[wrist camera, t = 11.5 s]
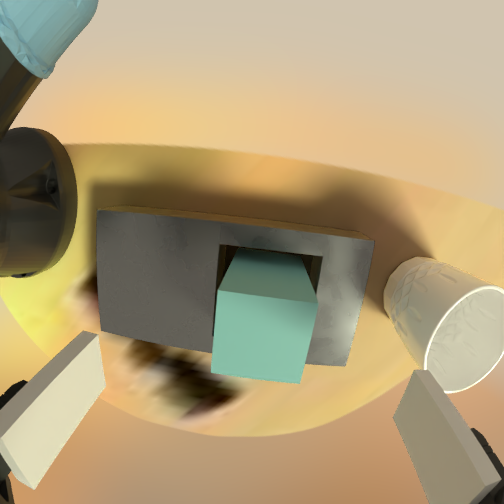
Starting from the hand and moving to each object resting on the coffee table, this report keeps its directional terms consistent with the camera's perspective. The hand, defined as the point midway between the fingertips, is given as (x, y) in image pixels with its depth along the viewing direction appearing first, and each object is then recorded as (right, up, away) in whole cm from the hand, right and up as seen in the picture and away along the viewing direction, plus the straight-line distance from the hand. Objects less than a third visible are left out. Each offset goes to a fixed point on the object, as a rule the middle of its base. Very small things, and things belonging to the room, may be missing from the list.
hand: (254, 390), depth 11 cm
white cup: (+15, +2, +14) cm, 20 cm away
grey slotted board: (-2, +3, +14) cm, 15 cm away
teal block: (+1, +3, +14) cm, 15 cm away
